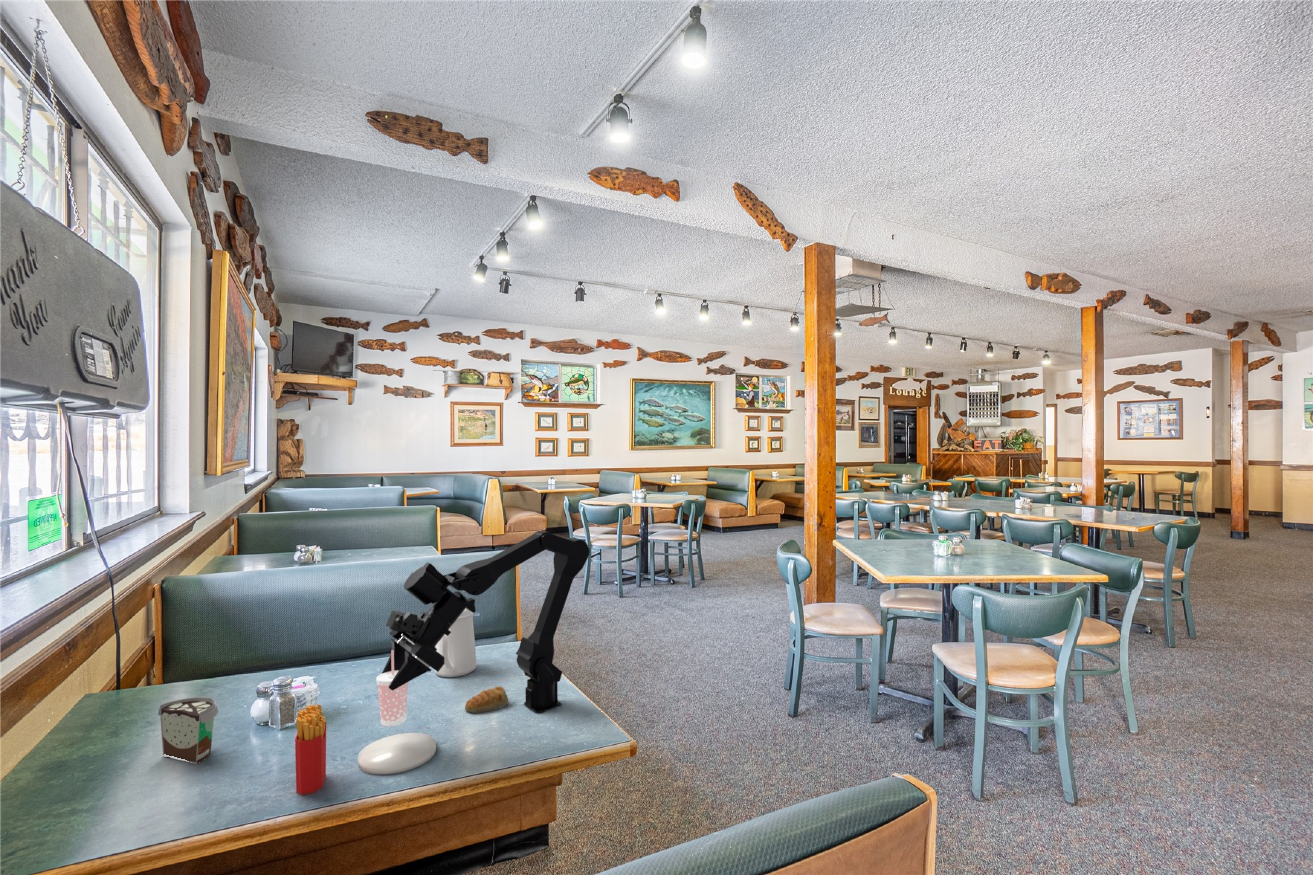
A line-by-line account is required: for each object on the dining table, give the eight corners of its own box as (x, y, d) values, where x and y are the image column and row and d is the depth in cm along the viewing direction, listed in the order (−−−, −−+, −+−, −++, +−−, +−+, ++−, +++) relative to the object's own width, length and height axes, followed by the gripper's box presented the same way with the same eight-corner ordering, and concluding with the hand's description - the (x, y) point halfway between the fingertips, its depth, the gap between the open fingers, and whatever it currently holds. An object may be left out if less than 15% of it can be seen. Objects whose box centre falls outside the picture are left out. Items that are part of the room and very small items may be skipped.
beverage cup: (382, 715, 126) (381, 646, 127) (414, 713, 127) (412, 644, 127) (372, 729, 120) (371, 656, 120) (404, 726, 121) (403, 654, 121)
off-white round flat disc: (421, 732, 131) (421, 726, 131) (447, 757, 120) (447, 750, 120) (349, 754, 122) (349, 747, 122) (370, 783, 111) (370, 776, 111)
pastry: (473, 718, 138) (473, 701, 138) (459, 709, 143) (459, 692, 143) (510, 705, 144) (510, 689, 145) (496, 697, 149) (495, 681, 149)
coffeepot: (484, 654, 181) (483, 589, 181) (467, 687, 156) (467, 611, 156) (445, 656, 179) (445, 590, 180) (422, 689, 154) (422, 613, 155)
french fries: (320, 794, 108) (319, 718, 108) (292, 799, 106) (291, 722, 107) (328, 768, 116) (328, 698, 117) (303, 772, 115) (302, 702, 115)
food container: (233, 750, 124) (233, 700, 124) (202, 765, 118) (202, 712, 118) (190, 741, 128) (190, 692, 128) (157, 755, 122) (157, 704, 123)
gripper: (398, 587, 134) (343, 650, 127) (426, 603, 119) (365, 675, 112) (436, 616, 138) (384, 679, 132) (467, 636, 124) (411, 707, 117)
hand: (385, 684), depth 123 cm, fingers closed on beverage cup, 6 cm apart
